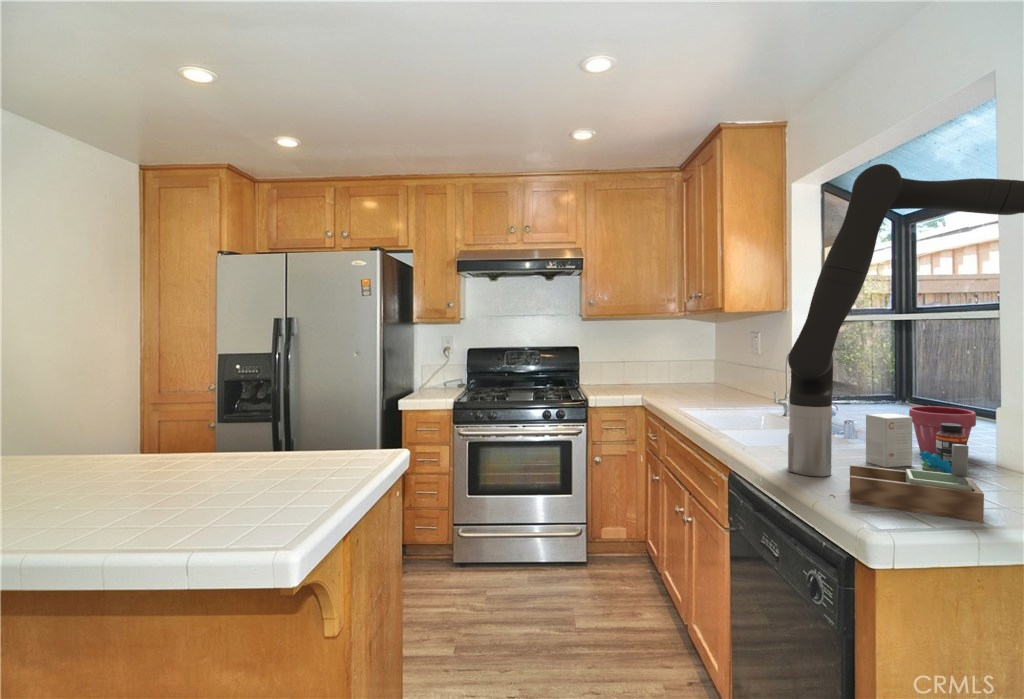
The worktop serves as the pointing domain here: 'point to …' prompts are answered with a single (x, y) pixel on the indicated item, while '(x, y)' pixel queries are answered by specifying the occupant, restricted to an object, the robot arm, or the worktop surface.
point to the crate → (945, 479)
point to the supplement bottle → (949, 440)
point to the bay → (913, 494)
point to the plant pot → (938, 423)
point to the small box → (889, 440)
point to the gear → (935, 463)
